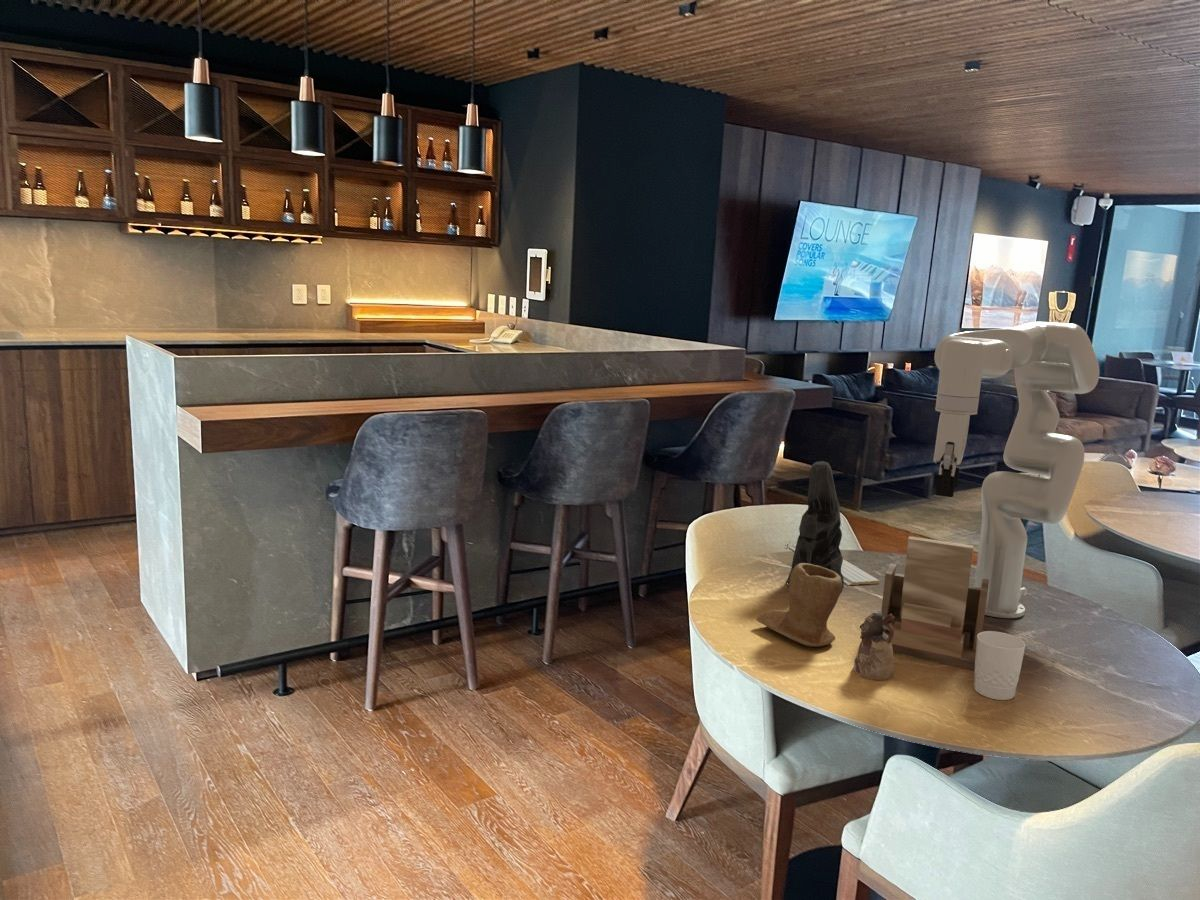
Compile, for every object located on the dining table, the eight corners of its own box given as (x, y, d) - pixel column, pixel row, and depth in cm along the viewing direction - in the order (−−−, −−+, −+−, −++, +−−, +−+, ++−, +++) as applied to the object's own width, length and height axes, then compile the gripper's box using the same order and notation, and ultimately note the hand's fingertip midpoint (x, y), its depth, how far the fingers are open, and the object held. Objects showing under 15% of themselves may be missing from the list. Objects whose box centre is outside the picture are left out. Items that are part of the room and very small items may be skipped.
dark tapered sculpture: (775, 576, 215) (785, 457, 210) (825, 574, 219) (836, 456, 213) (802, 597, 202) (813, 470, 197) (855, 593, 206) (868, 468, 200)
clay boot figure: (849, 643, 177) (856, 572, 174) (806, 655, 171) (813, 581, 168) (795, 618, 190) (801, 551, 187) (754, 627, 183) (759, 559, 180)
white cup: (995, 705, 153) (1002, 651, 151) (960, 685, 160) (967, 634, 158) (1028, 698, 156) (1035, 645, 154) (992, 679, 163) (999, 628, 161)
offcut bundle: (894, 635, 178) (897, 600, 177) (962, 648, 173) (967, 612, 171) (890, 643, 174) (894, 608, 172) (961, 658, 168) (965, 621, 167)
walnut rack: (883, 626, 187) (890, 563, 184) (980, 645, 179) (989, 579, 176) (873, 648, 175) (880, 581, 172) (976, 670, 167) (985, 600, 164)
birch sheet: (899, 629, 181) (909, 536, 178) (961, 641, 176) (973, 545, 172) (898, 632, 180) (908, 538, 176) (960, 644, 175) (973, 548, 171)
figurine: (860, 660, 169) (866, 601, 167) (897, 671, 165) (904, 610, 163) (847, 673, 163) (853, 612, 161) (885, 684, 159) (892, 622, 157)
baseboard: (842, 588, 211) (879, 586, 214) (843, 577, 210) (880, 575, 213) (783, 550, 239) (816, 548, 242) (784, 540, 239) (817, 538, 241)
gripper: (940, 398, 178) (930, 480, 181) (931, 407, 163) (921, 497, 166) (980, 401, 175) (969, 485, 178) (975, 411, 160) (963, 502, 163)
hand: (946, 491), depth 172 cm, fingers open, 9 cm apart
